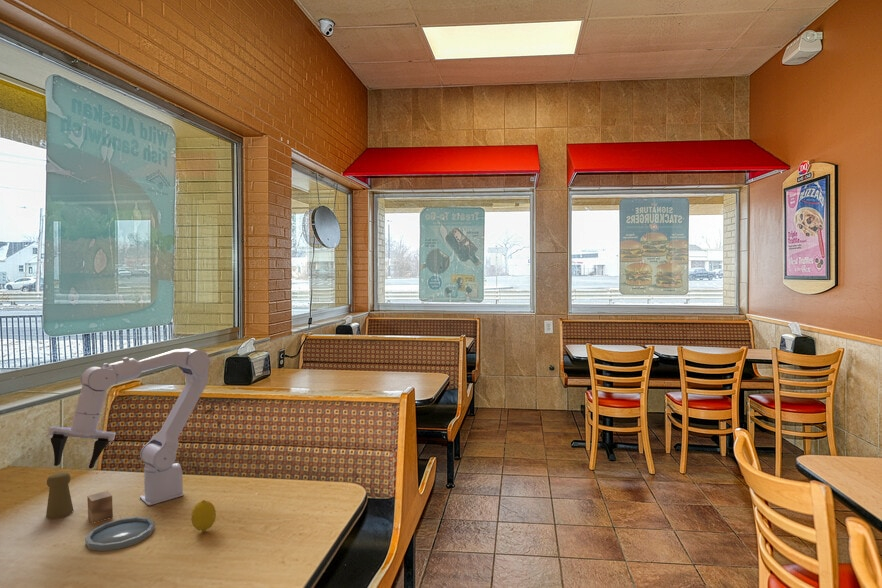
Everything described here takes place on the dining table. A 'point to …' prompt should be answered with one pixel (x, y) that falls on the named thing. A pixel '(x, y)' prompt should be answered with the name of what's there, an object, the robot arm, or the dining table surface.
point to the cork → (59, 495)
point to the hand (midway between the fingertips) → (74, 466)
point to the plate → (119, 533)
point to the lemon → (203, 515)
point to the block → (100, 506)
